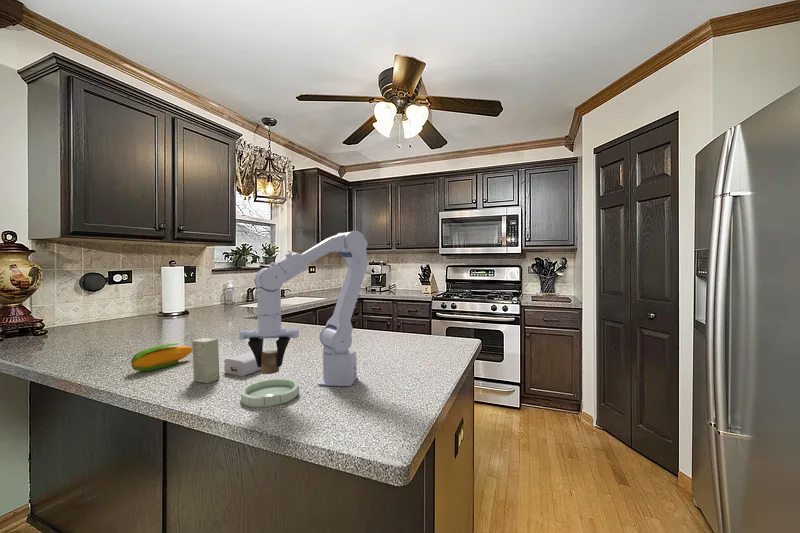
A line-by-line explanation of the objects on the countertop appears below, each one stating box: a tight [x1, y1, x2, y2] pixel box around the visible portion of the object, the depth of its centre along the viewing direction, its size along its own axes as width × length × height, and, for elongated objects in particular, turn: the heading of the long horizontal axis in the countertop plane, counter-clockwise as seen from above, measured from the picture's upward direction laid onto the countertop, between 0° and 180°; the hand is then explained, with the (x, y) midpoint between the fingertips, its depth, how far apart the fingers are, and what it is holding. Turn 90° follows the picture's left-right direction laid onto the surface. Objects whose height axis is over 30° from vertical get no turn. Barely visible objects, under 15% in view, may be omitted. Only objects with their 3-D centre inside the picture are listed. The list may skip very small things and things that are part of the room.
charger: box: [223, 351, 261, 377], centre depth 114 cm, size 5×9×15 cm
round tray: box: [240, 377, 300, 408], centre depth 90 cm, size 14×14×2 cm
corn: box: [130, 343, 192, 373], centre depth 117 cm, size 7×8×20 cm
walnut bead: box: [260, 349, 280, 375], centre depth 90 cm, size 4×4×5 cm
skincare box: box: [191, 337, 220, 384], centre depth 103 cm, size 6×4×12 cm
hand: (270, 366), depth 90 cm, fingers closed on walnut bead, 4 cm apart
